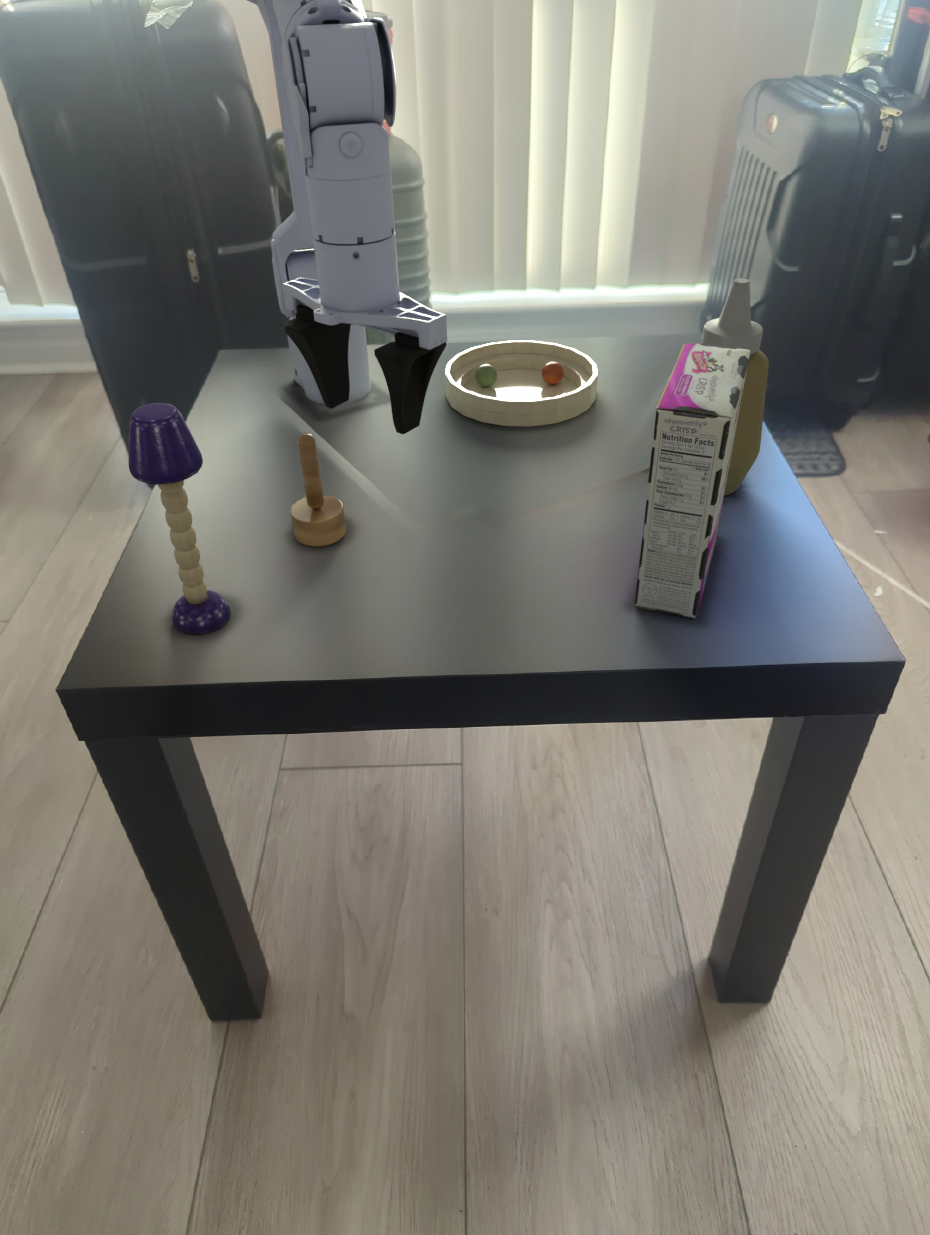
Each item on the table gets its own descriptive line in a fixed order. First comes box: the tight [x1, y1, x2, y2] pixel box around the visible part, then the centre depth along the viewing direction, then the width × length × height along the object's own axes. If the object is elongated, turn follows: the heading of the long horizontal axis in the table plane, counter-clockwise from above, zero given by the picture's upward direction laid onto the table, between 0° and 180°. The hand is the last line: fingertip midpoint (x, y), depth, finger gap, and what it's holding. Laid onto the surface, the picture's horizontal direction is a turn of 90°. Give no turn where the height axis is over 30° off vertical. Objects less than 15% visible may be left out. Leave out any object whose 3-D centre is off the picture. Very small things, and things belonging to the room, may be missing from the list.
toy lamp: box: [128, 402, 232, 635], centre depth 59 cm, size 5×5×17 cm
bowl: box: [444, 340, 599, 427], centre depth 91 cm, size 16×16×4 cm
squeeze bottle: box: [700, 277, 770, 497], centre depth 72 cm, size 8×8×18 cm
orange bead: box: [542, 362, 564, 385], centre depth 93 cm, size 2×2×2 cm
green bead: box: [475, 364, 497, 387], centre depth 93 cm, size 2×2×2 cm
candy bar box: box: [634, 342, 750, 619], centre depth 62 cm, size 11×5×16 cm, turn 160°
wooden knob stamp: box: [289, 432, 347, 547], centre depth 70 cm, size 4×4×9 cm
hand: (371, 415), depth 68 cm, fingers open, 7 cm apart
